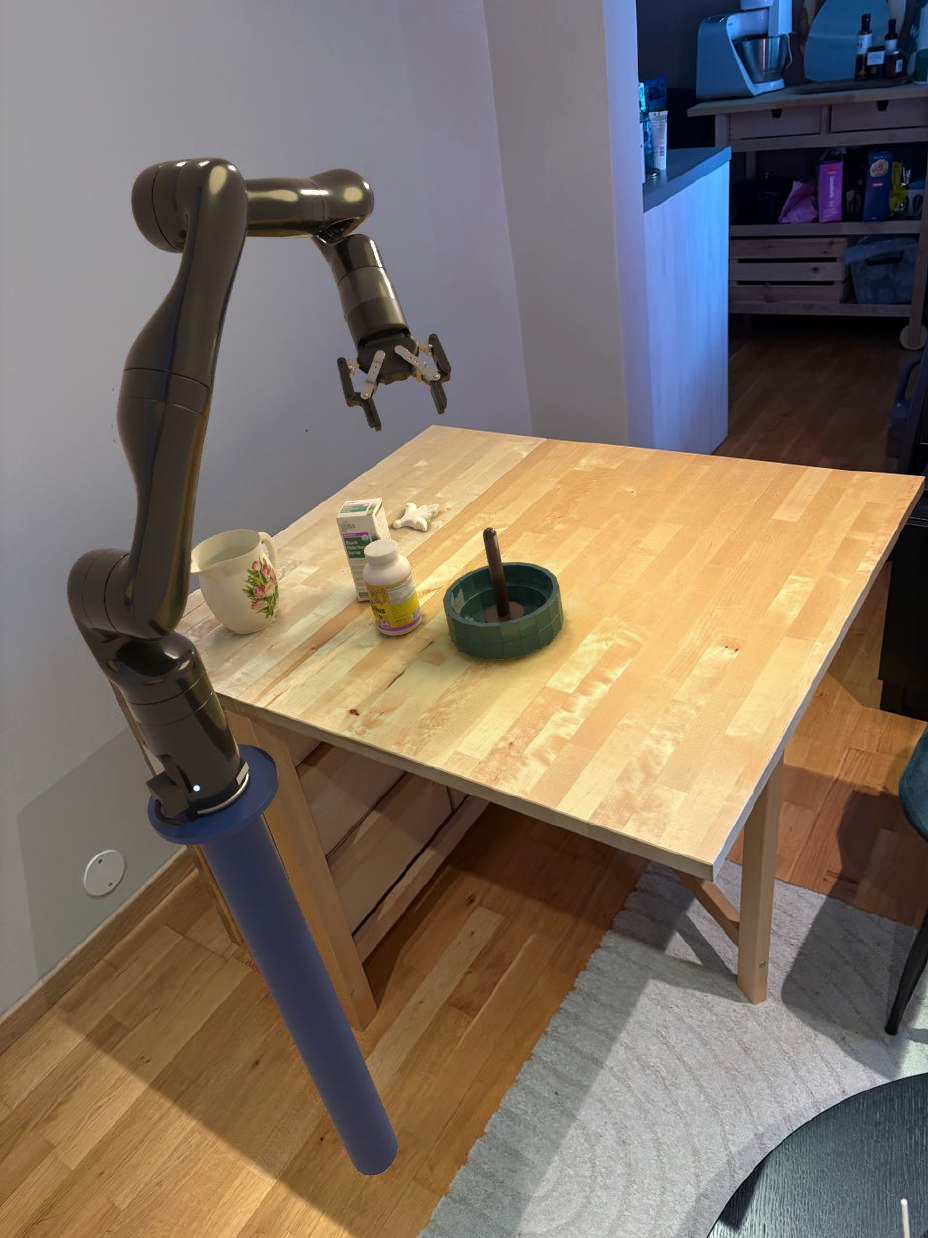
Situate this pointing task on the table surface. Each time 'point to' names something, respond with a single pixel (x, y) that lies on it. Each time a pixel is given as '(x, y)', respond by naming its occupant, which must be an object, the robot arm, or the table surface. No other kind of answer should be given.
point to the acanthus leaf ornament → (417, 516)
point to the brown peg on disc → (498, 584)
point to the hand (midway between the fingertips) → (410, 419)
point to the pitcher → (238, 578)
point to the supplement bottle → (391, 588)
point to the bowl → (510, 637)
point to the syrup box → (361, 535)
